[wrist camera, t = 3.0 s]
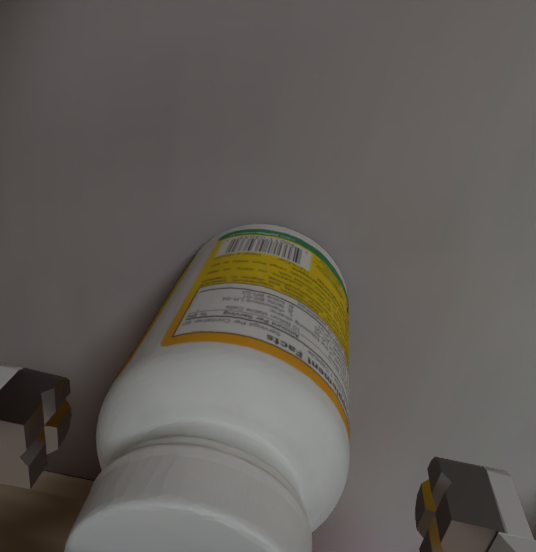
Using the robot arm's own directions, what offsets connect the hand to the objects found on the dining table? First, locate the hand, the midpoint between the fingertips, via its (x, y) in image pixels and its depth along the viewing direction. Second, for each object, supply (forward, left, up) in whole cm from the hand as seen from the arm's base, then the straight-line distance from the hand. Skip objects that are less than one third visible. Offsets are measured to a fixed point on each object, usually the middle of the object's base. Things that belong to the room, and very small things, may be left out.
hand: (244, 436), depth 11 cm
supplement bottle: (0, 0, -6) cm, 6 cm away
